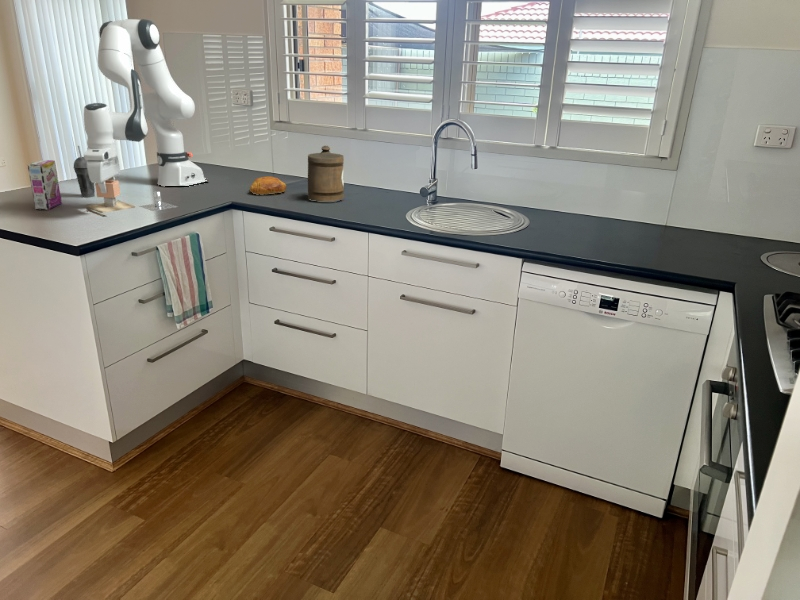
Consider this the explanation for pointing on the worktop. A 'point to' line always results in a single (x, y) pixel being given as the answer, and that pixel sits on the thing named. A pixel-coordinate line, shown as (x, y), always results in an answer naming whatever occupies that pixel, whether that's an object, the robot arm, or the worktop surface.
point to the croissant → (267, 185)
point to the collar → (109, 189)
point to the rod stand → (157, 203)
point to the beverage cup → (83, 177)
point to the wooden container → (325, 176)
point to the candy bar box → (44, 184)
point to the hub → (109, 206)
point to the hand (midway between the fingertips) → (108, 190)
